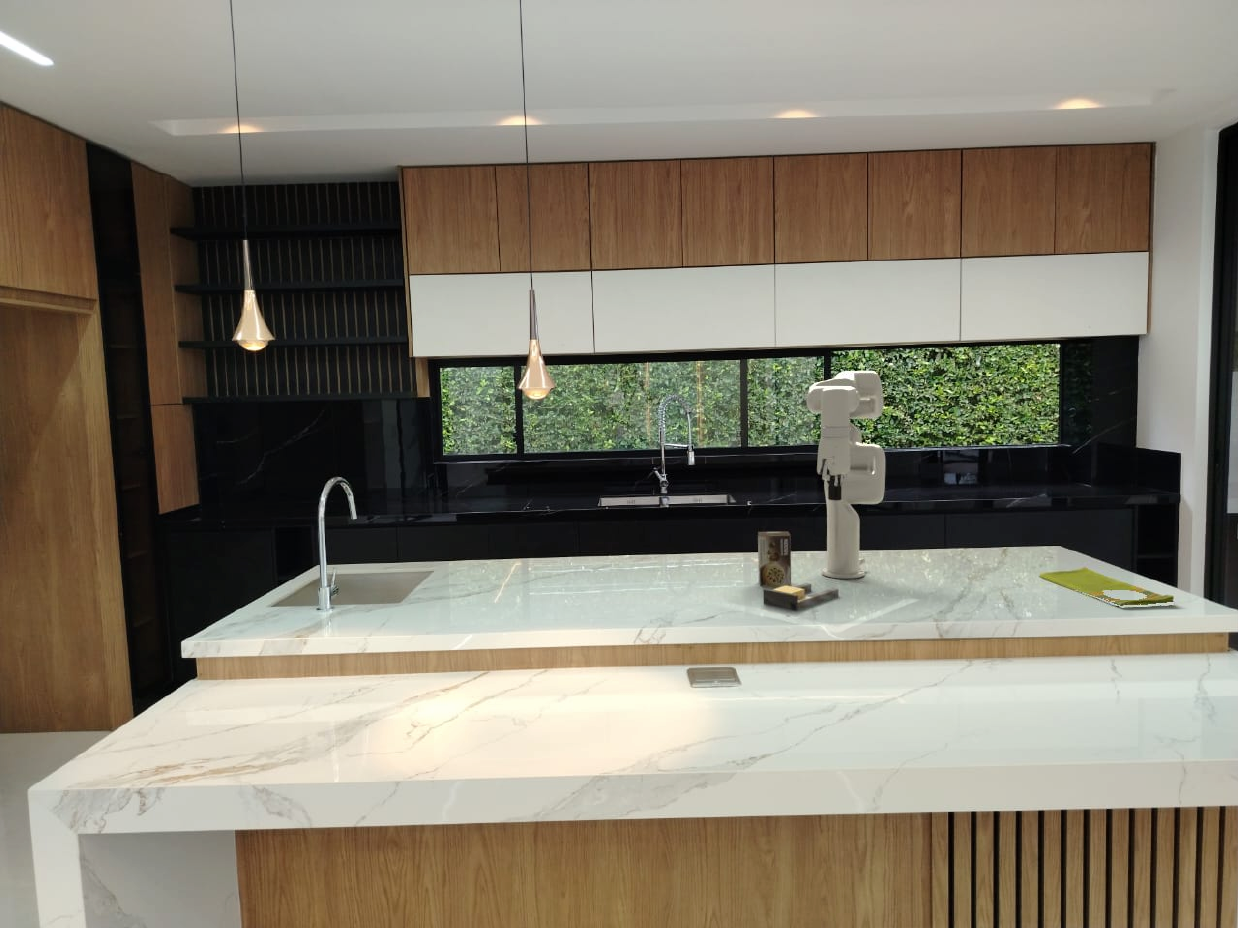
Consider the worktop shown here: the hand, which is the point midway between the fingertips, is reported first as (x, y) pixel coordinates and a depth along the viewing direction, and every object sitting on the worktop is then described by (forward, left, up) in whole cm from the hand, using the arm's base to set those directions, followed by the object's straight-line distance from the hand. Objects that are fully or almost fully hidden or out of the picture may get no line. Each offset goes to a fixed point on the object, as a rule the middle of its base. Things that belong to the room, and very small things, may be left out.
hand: (834, 499), depth 236 cm
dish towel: (-54, +52, -28) cm, 80 cm away
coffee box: (+3, -18, -27) cm, 33 cm away
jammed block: (+19, -2, -26) cm, 32 cm away
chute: (+13, -2, -27) cm, 30 cm away
